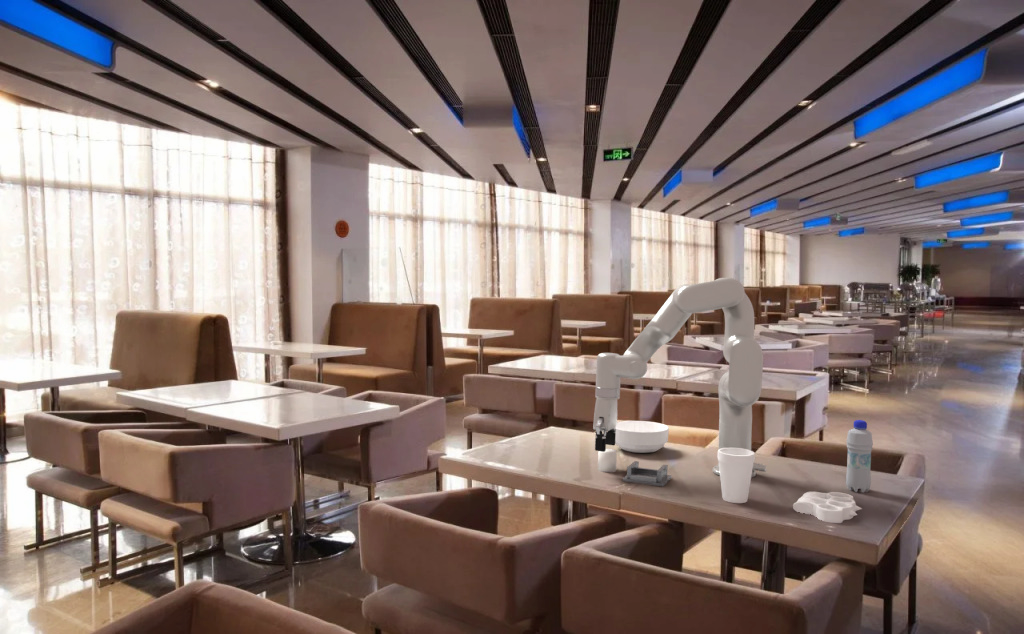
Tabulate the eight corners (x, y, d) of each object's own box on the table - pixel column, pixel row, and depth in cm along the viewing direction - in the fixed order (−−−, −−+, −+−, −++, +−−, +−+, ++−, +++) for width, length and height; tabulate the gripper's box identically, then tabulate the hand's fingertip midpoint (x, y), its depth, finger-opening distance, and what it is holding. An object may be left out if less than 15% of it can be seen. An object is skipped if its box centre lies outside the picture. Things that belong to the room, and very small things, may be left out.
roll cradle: (671, 477, 209) (671, 464, 208) (663, 486, 200) (663, 472, 199) (632, 472, 214) (632, 459, 214) (622, 481, 205) (622, 467, 205)
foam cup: (731, 492, 195) (732, 446, 194) (760, 500, 187) (761, 452, 187) (709, 498, 189) (710, 450, 189) (738, 507, 182) (740, 457, 181)
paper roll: (618, 468, 219) (618, 449, 218) (613, 473, 214) (613, 453, 213) (601, 466, 221) (601, 447, 221) (595, 470, 216) (595, 451, 216)
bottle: (848, 485, 203) (850, 416, 202) (873, 489, 198) (876, 419, 197) (842, 490, 197) (844, 420, 196) (868, 495, 193) (870, 423, 192)
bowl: (638, 441, 257) (638, 418, 257) (680, 452, 241) (680, 427, 241) (599, 448, 246) (599, 424, 245) (640, 460, 230) (641, 434, 229)
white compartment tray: (806, 498, 191) (866, 509, 182) (789, 516, 176) (853, 528, 168) (806, 486, 191) (866, 496, 182) (789, 503, 176) (853, 514, 168)
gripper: (604, 388, 226) (602, 441, 226) (586, 395, 210) (584, 451, 211) (627, 390, 222) (624, 444, 223) (610, 398, 207) (608, 455, 208)
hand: (605, 447), depth 217 cm, fingers open, 9 cm apart
